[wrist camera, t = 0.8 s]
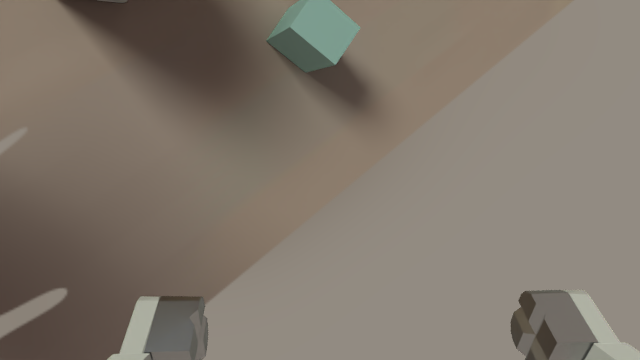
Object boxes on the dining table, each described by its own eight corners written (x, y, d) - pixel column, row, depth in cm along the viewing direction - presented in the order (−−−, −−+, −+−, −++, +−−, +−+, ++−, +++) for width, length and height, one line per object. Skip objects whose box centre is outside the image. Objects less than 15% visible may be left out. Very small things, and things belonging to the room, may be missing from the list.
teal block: (266, 40, 47) (289, 27, 40) (288, 8, 47) (316, -12, 40) (305, 72, 49) (335, 65, 41) (327, 40, 49) (360, 27, 42)
